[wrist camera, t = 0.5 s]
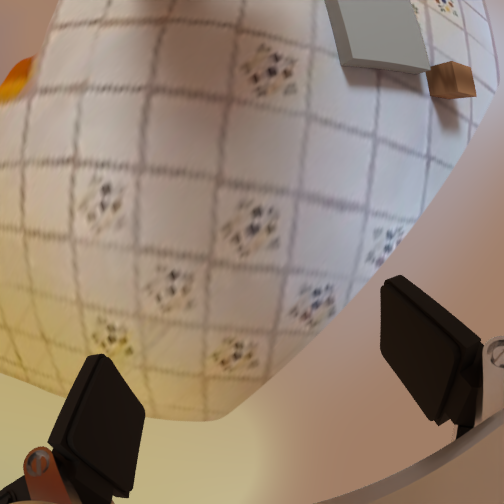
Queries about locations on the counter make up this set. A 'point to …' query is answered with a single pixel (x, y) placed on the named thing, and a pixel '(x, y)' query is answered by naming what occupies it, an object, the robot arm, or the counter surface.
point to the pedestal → (378, 35)
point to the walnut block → (451, 81)
